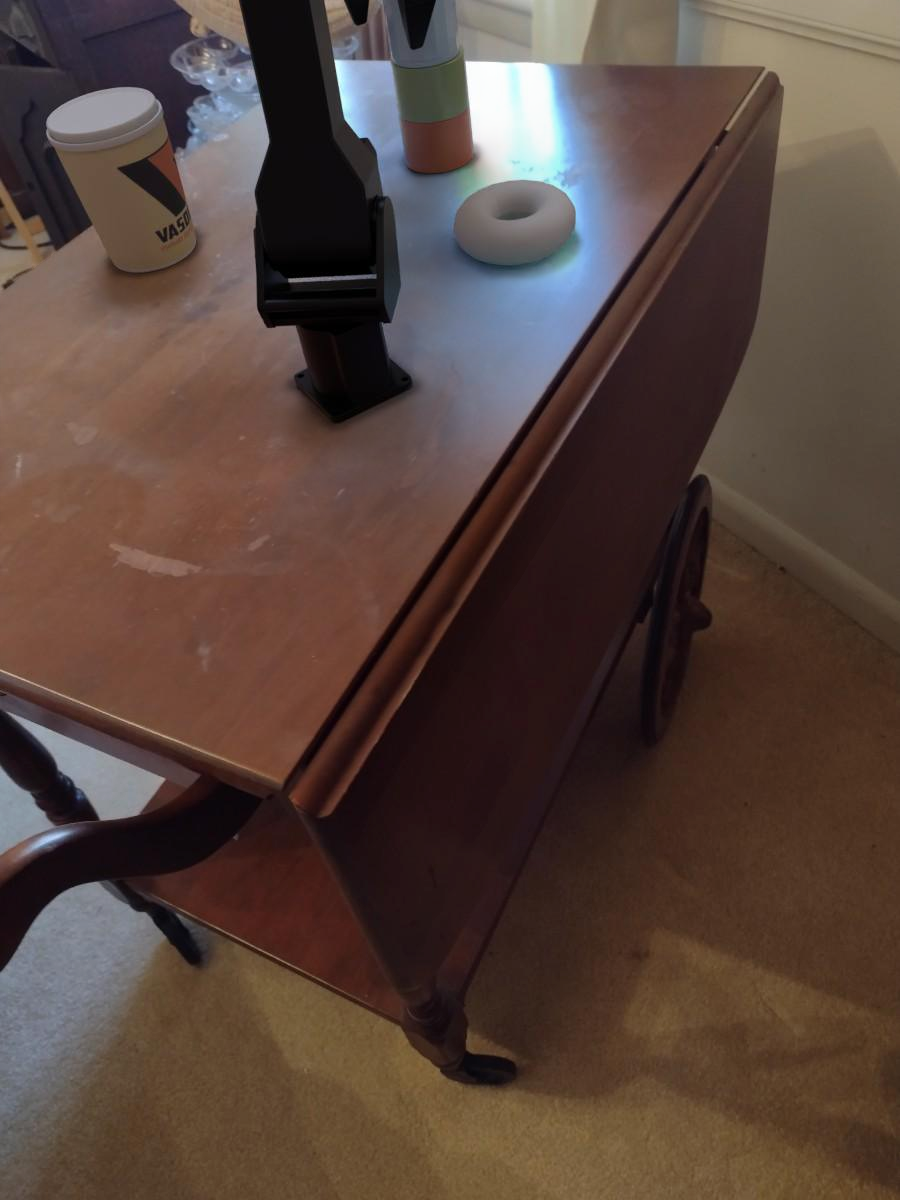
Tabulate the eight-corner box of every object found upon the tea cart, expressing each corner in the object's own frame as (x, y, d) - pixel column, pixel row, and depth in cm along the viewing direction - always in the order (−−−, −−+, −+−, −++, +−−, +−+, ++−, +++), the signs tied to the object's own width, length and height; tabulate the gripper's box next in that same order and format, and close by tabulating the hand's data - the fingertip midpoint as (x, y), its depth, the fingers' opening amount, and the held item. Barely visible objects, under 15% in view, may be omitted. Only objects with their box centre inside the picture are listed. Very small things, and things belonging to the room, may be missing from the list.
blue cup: (472, 52, 79) (466, -21, 75) (414, 74, 78) (404, 0, 74) (436, 36, 83) (428, -35, 79) (379, 56, 81) (368, -15, 77)
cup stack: (487, 156, 86) (478, 51, 79) (429, 180, 84) (414, 75, 78) (449, 135, 90) (438, 34, 83) (392, 158, 88) (376, 56, 82)
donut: (539, 285, 71) (597, 221, 76) (537, 244, 68) (597, 181, 73) (433, 261, 75) (494, 202, 80) (427, 221, 73) (490, 163, 77)
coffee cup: (182, 278, 78) (128, 133, 69) (85, 278, 80) (20, 137, 71) (221, 223, 84) (176, 82, 75) (129, 224, 86) (75, 87, 77)
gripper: (194, -200, 66) (252, 39, 78) (307, -182, 55) (356, 95, 67) (328, -232, 70) (365, 3, 81) (461, -221, 58) (482, 50, 70)
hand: (387, 36), depth 75 cm, fingers open, 9 cm apart
